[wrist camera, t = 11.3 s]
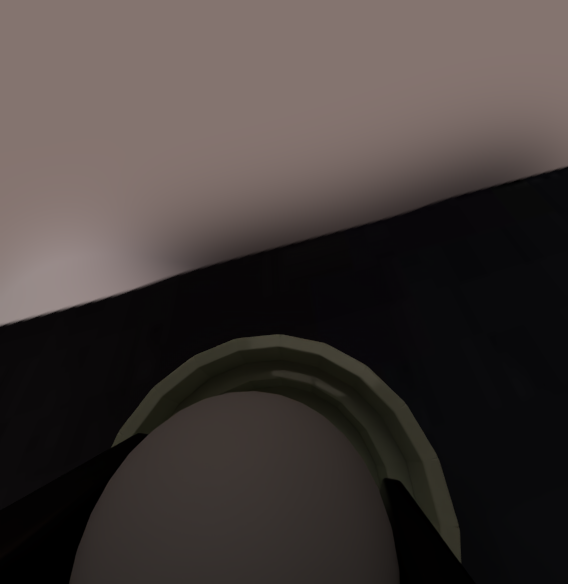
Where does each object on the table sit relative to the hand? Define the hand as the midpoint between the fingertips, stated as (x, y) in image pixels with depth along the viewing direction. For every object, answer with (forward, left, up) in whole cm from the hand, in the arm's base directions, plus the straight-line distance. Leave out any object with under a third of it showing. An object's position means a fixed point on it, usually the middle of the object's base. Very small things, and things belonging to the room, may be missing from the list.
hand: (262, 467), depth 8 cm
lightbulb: (-1, -1, -7) cm, 7 cm away
